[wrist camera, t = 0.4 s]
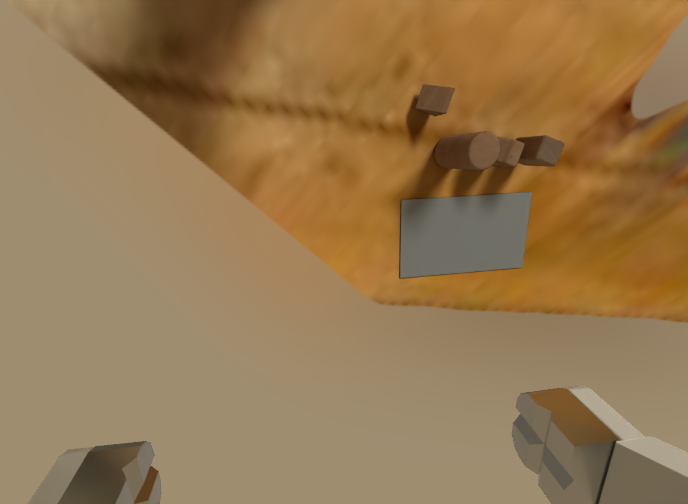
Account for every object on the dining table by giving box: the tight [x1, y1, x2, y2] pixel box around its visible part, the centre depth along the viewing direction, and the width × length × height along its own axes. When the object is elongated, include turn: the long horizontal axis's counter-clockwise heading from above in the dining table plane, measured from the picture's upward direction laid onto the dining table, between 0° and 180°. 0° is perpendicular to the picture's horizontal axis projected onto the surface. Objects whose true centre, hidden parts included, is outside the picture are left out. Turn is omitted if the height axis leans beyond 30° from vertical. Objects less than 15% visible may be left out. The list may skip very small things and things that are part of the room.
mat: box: [400, 192, 532, 278], centre depth 57 cm, size 12×20×1 cm, turn 92°
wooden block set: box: [415, 85, 564, 170], centre depth 48 cm, size 18×9×10 cm, turn 71°
